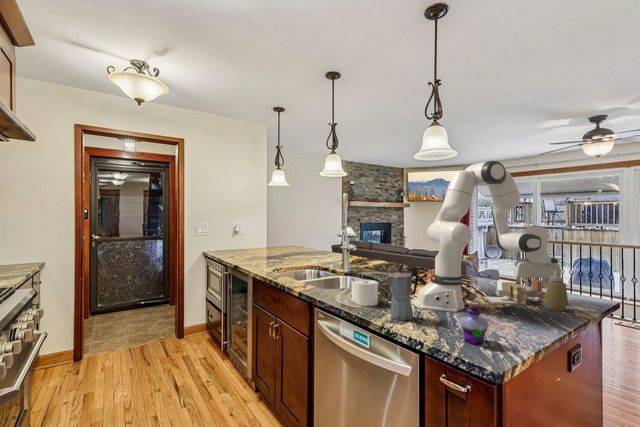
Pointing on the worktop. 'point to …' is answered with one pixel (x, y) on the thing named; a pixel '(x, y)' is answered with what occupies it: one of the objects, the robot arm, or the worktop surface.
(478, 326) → the potion bottle
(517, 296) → the bearing block
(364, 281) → the toilet tissue
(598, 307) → the worktop surface
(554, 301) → the squeeze bottle
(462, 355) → the worktop surface
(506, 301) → the mat
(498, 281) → the block
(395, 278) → the moka pot
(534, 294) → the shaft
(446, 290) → the robot arm
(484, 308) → the worktop surface
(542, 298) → the rear saddle
